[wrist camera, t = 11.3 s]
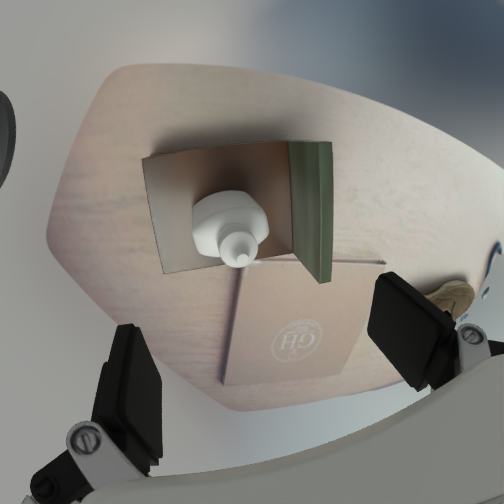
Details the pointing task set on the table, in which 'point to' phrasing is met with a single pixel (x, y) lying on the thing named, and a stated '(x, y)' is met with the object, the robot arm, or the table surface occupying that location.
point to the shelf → (258, 187)
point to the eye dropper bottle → (229, 227)
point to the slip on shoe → (453, 298)
